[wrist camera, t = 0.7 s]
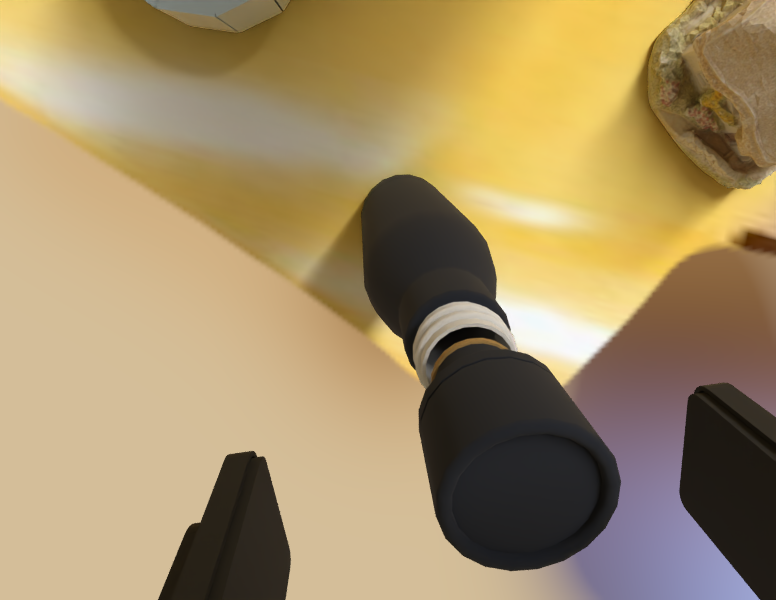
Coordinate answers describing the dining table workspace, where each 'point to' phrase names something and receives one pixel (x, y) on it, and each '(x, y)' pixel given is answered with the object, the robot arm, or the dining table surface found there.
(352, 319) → the dining table surface
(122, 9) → the dining table surface
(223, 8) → the bowl
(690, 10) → the ceramic model
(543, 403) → the black water bottle
